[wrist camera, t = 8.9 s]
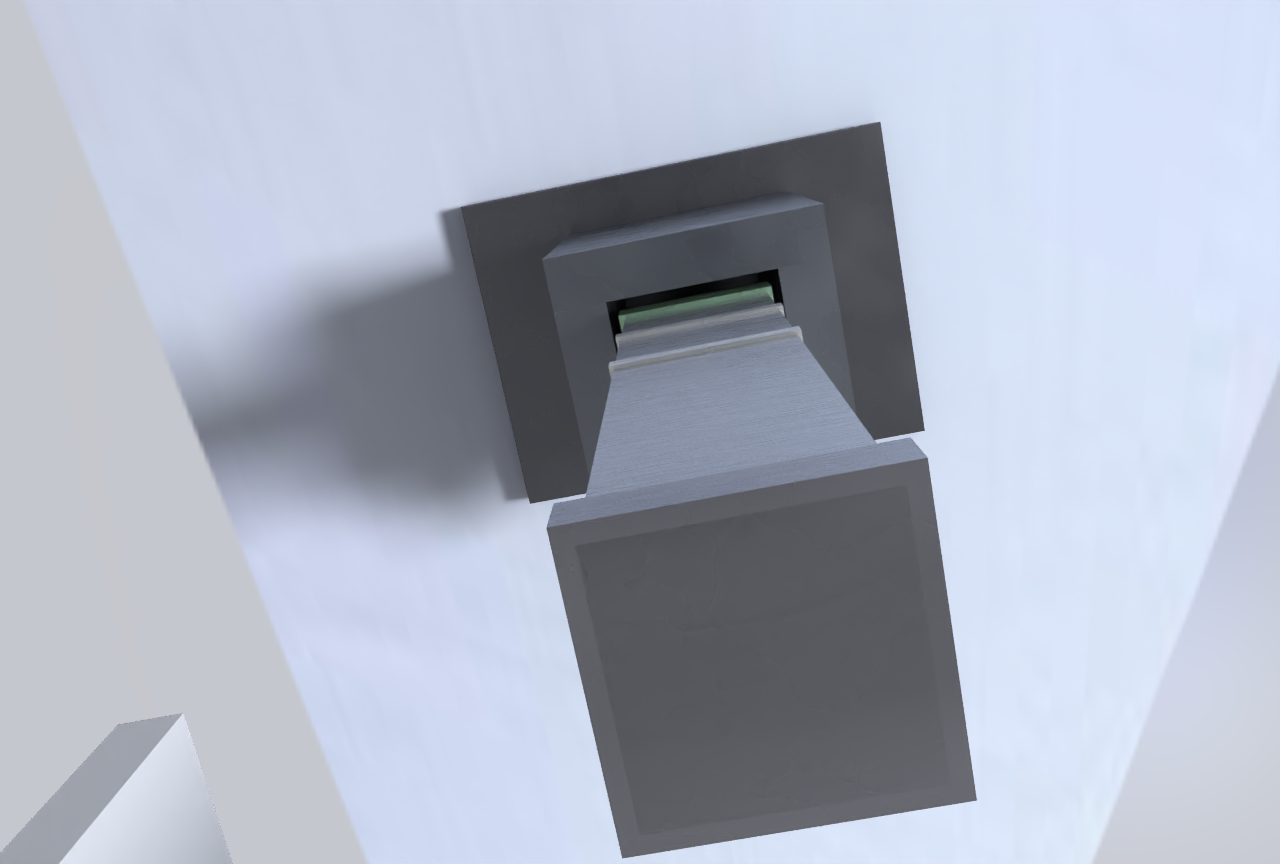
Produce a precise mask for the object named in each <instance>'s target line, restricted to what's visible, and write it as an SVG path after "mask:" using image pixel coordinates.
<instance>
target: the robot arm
mask: <svg viewBox="0 0 1280 864" xmlns="http://www.w3.org/2000/svg"><path fill="white" fill-rule="evenodd" d="M0 864H233V863H232V860H231V857H230V854H229V851H228V848H227V845H226V842H225V839H224V835H223V833H222V829H221V826H220V823H219V821H218V817H217V815H216V811H215V808H214V805H213V802H212V799H211V796H210V793H209V790H208V787H207V784H206V781H205V778H204V775H203V772H202V769H201V766H200V763H199V760H198V757H197V754H196V751H195V748H194V744H193V741H192V738H191V735H190V732H189V729H188V726H187V723H186V720H185V717H184V714H183V713H181V714H175V715H170V716H164V717H158V718H152V719H147V720H141V721H135V722H130V723H124V724H119V725H117V727H116V728H115V729H114V730H113V731H112V732H111V733H110V734H109V735H108V736H107V737H106V738H105V739H104V741H103V742H102V743H101V744H100V745H99V746H98V747H97V748H96V749H95V750H94V752H93V753H92V754H91V755H90V756H89V757H88V758H87V759H86V760H85V761H84V762H83V764H82V765H81V766H80V767H79V768H78V769H77V770H76V771H75V772H74V773H73V774H72V775H71V777H70V778H69V779H68V780H67V781H66V782H65V783H64V784H63V785H62V787H60V789H59V790H58V791H57V792H56V793H55V794H54V795H53V796H52V797H51V798H50V799H49V800H48V802H47V803H46V804H45V805H44V806H43V807H42V808H41V809H40V810H39V811H38V812H37V814H36V815H35V816H34V817H33V818H32V819H31V820H30V821H29V822H28V823H27V825H26V826H25V827H24V828H23V829H22V830H21V831H20V832H19V833H18V834H17V835H16V837H15V838H14V839H13V840H12V841H11V842H10V843H9V844H8V845H7V846H6V847H5V848H4V849H3V851H2V852H1V853H0Z"/></svg>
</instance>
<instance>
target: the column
mask: <svg viewBox="0 0 1280 864" xmlns="http://www.w3.org/2000/svg"><path fill="white" fill-rule="evenodd" d="M619 321H620V326H621V331H622V334H617V335H616V343H617V347H618V352H617V357H616V361H613V362H609V366H608V367H609V372H610V376H611V384H610V388H609V393H608V397H607V402H606V407H605V411H604V416H603V420H602V425H601V429H600V434H599V438H598V443H597V447H596V452H595V456H594V461H593V466H592V470H591V475H590V479H589V484H588V488H587V493H586V497H585V498H581V499H576V500H571V501H565V502H560V503H554V505H553V508H552V511H551V515H550V518H549V521H548V525H547V532H548V536H549V541H550V545H551V549H552V554H553V558H554V562H555V567H556V571H557V575H558V580H559V584H560V589H561V593H562V597H563V602H564V606H565V610H566V615H567V619H568V623H569V628H570V632H571V636H572V641H573V645H574V650H575V654H576V658H577V663H578V667H579V671H580V676H581V680H582V684H583V689H584V693H585V698H586V702H587V706H588V711H589V715H590V719H591V724H592V728H593V732H594V737H595V741H596V745H597V750H598V754H599V759H600V763H601V767H602V772H603V776H604V780H605V785H606V789H607V793H608V798H609V802H610V807H611V811H612V815H613V820H614V824H615V828H616V833H617V837H618V841H619V846H620V850H621V854H622V858H628V857H634V856H640V855H646V854H652V853H658V852H664V851H670V850H676V849H683V848H689V847H695V846H701V845H707V844H713V843H719V842H725V841H732V840H738V839H744V838H750V837H756V836H762V835H768V834H774V833H780V832H787V831H793V830H799V829H805V828H811V827H817V826H823V825H829V824H836V823H842V822H848V821H854V820H860V819H866V818H872V817H878V816H884V815H891V814H897V813H903V812H909V811H915V810H921V809H927V808H933V807H940V806H946V805H952V804H958V803H964V802H970V801H976V800H977V799H976V792H975V785H974V778H973V771H972V764H971V757H970V750H969V743H968V736H967V729H966V722H965V715H964V708H963V701H962V694H961V687H960V680H959V673H958V666H957V659H956V652H955V645H954V638H953V631H952V625H951V618H950V611H949V604H948V597H947V590H946V583H945V576H944V569H943V562H942V555H941V548H940V541H939V534H938V527H937V520H936V513H935V506H934V499H933V492H932V485H931V478H930V471H929V464H928V458H927V456H926V455H925V454H924V453H923V452H922V451H921V449H920V448H919V447H918V446H917V445H916V444H915V442H914V441H913V440H912V439H911V438H906V439H900V440H895V441H890V442H884V443H879V444H877V443H876V442H875V441H874V439H873V438H872V437H871V435H870V434H869V432H868V431H867V430H866V428H865V427H864V425H863V424H862V423H861V421H860V420H859V419H858V417H857V416H856V414H855V413H854V412H853V410H852V409H851V408H850V406H849V405H848V403H847V402H846V401H845V399H844V398H843V396H842V395H841V394H840V392H839V391H838V390H837V388H836V387H835V385H834V384H833V383H832V381H831V380H830V379H829V377H828V376H827V374H826V373H825V372H824V370H823V369H822V367H821V366H820V365H819V363H818V362H817V361H816V359H815V358H814V356H813V355H812V354H811V352H810V351H809V349H808V348H807V347H806V345H805V344H804V343H803V337H802V331H801V328H800V327H799V326H795V327H792V326H791V325H790V323H789V322H788V320H787V319H786V318H785V315H784V309H783V305H782V303H776V304H775V303H774V299H773V293H772V287H771V285H770V284H769V283H768V281H767V282H762V283H760V282H757V283H752V284H747V285H742V286H737V287H732V288H727V289H721V290H716V291H711V292H706V293H701V294H696V295H691V296H686V297H681V298H675V299H670V300H665V301H660V302H655V303H650V304H645V305H640V306H635V307H629V308H627V309H624V310H620V312H619Z"/></svg>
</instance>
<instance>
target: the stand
mask: <svg viewBox="0 0 1280 864" xmlns="http://www.w3.org/2000/svg"><path fill="white" fill-rule="evenodd" d="M461 208H462V212H463V217H464V221H465V225H466V230H467V234H468V238H469V243H470V247H471V251H472V256H473V260H474V264H475V269H476V273H477V277H478V281H479V286H480V290H481V294H482V299H483V303H484V307H485V312H486V316H487V320H488V325H489V329H490V333H491V338H492V342H493V346H494V351H495V355H496V359H497V363H498V368H499V372H500V376H501V381H502V385H503V389H504V394H505V398H506V402H507V407H508V411H509V415H510V420H511V424H512V428H513V432H514V437H515V441H516V445H517V450H518V454H519V458H520V463H521V467H522V471H523V476H524V480H525V484H526V489H527V493H528V497H529V502H530V504H531V503H536V502H542V501H547V500H553V499H558V498H563V497H569V496H574V495H580V494H585V493H587V488H588V484H589V479H590V475H591V470H592V466H593V461H594V456H595V452H596V447H597V443H598V438H599V434H600V429H601V425H602V420H603V416H604V411H605V407H606V402H607V397H608V393H609V388H610V384H611V376H610V372H609V367H608V366H609V362H613V361H616V357H617V352H618V347H617V343H616V335H617V334H622V331H621V326H620V321H619V312H620V310H624V309H627V308H629V307H635V306H640V305H645V304H650V303H655V302H660V301H665V300H670V299H675V298H681V297H686V296H691V295H696V294H701V293H706V292H711V291H716V290H721V289H727V288H732V287H737V286H742V285H747V284H752V283H757V282H760V283H762V282H767V281H768V283H769V284H770V285H771V287H772V293H773V299H774V303H775V304H776V303H782V305H783V309H784V315H785V318H786V319H787V320H788V322H789V323H790V325H791V326H792V327H795V326H799V327H800V328H801V331H802V337H803V343H804V344H805V345H806V347H807V348H808V349H809V351H810V352H811V354H812V355H813V356H814V358H815V359H816V361H817V362H818V363H819V365H820V366H821V367H822V369H823V370H824V372H825V373H826V374H827V376H828V377H829V379H830V380H831V381H832V383H833V384H834V385H835V387H836V388H837V390H838V391H839V392H840V394H841V395H842V396H843V398H844V399H845V401H846V402H847V403H848V405H849V406H850V408H851V409H852V410H853V412H854V413H855V414H856V416H857V417H858V419H859V420H860V421H861V423H862V424H863V425H864V427H865V428H866V430H867V431H868V432H869V434H870V435H871V437H872V438H873V439H874V440H877V439H882V438H887V437H893V436H898V435H904V434H909V433H914V432H920V431H925V430H924V423H923V416H922V409H921V402H920V395H919V388H918V381H917V374H916V367H915V360H914V353H913V346H912V339H911V332H910V325H909V318H908V311H907V304H906V297H905V291H904V284H903V277H902V270H901V263H900V256H899V249H898V242H897V235H896V228H895V221H894V214H893V207H892V200H891V193H890V186H889V179H888V172H887V165H886V158H885V151H884V144H883V137H882V130H881V123H880V122H876V123H871V124H866V125H861V126H856V127H851V128H846V129H841V130H836V131H832V132H827V133H822V134H817V135H812V136H807V137H802V138H797V139H792V140H787V141H782V142H777V143H773V144H768V145H763V146H758V147H753V148H748V149H743V150H738V151H733V152H728V153H723V154H719V155H714V156H709V157H704V158H699V159H694V160H689V161H684V162H679V163H674V164H669V165H664V166H660V167H655V168H650V169H645V170H640V171H635V172H630V173H625V174H620V175H615V176H610V177H606V178H601V179H596V180H591V181H586V182H581V183H576V184H571V185H566V186H561V187H556V188H551V189H547V190H542V191H537V192H532V193H527V194H522V195H517V196H512V197H507V198H502V199H497V200H492V201H488V202H483V203H478V204H473V205H468V206H464V207H461Z"/></svg>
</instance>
